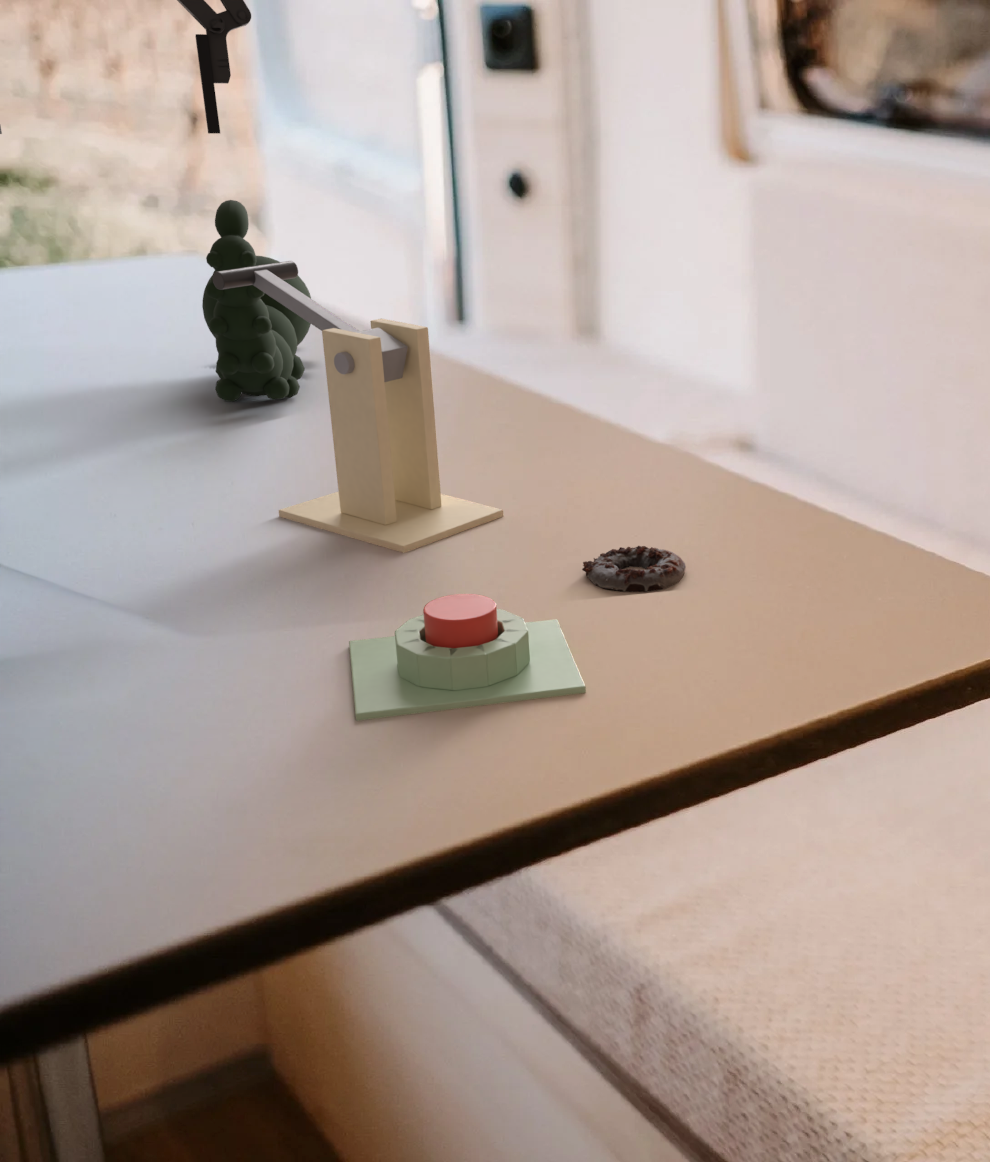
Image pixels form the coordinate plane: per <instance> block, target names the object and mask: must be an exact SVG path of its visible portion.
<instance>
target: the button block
mask: <svg viewBox="0 0 990 1162" xmlns="http://www.w3.org/2000/svg"><path fill="white" fill-rule="evenodd" d="M497 623H498V637H497V639H496V640H493V641H490V642H487V643H485V644H482V645H479V646H470V647H461V648H445V647H436V646H433V645H430V644H428V643H427V642H426V638H425V626H424V614H421V615H418V616H414V617H412V618H409V619H408V620H406V621H405V622H404V623H403V624H402V625H400V626H399V627H398V628H397V629H396V630H394V635H393V636H382V637H374V638H364V639H363V638H362V639H354V640H353V639H352V640H349V641H348V648H349V649H348V650H349V657H350V670H351V671H350V672H351V681H352V682H351V683H352V691H353V704H354V715H355V721H357V722H358V721H364V720H365V721H366V720H374V719H381V718H390V717H398V716H407V715H416V714H423V713H424V714H425V713H431V712H440V711H449V710H456V709H463V708H465V709H466V708H474V707H480V706H481V707H482V706H487V705H488V706H489V705H496V704H497V705H498V704H505V703H513V702H521V701H523V702H524V701H530V700H537V699H545V698H554V697H562V696H564V697H565V696H572V695H579V694H585V693H587V686H586V684H585V682H584V680H583V677H582V675H581V673H580V670H579V667H578V665H577V663H576V660H575V658H574V655H573V654H572V651H571V649H570V646H569V644H568V642H567V639H566V637H565V634H564V632H563V630H562V627H561V625H560V623H559V620H558V619H557V618H555V619H545V620H536V621H525V619H524V618H523V617H522V616H520V615H517V614H515V613H513V612H510V611H507V610H506V609H503V608H497Z"/></svg>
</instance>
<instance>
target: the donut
mask: <svg viewBox="0 0 990 1162" xmlns="http://www.w3.org/2000/svg"><path fill="white" fill-rule="evenodd" d="M628 568H629V569H628ZM636 568H641V569H636ZM581 570H582V572H585V576H586V577H587V579H589V581H590V582H592V584H593V585H594V586H596V587H598V588H601V589H603V590H613V591H616V592H623V593H636V592H637V593H648V592H655V591H660V590H665V589H668V588H670V587H672V586H674V585H676V584H678V583H679V582H680V581H682V579H683V578H684V576H685V571H686V563H685V561H684V560H683V559H682V558H681V557H680V556H679V555H678V554H676V553H675V552H673V551H671V550H667V549H661V548H660V549H659V548H657V547H652V546H650V547H648V546H645V545H637V546H635V547H631V546H627V547H619V548H618V549H616V548H612V549H611V550H608V551H607V552H606V553H605V552H602V553H600V554H599V556H597V558H595V557H593V561H592V560H589V561H583V562H582V569H581Z"/></svg>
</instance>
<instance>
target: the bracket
mask: <svg viewBox="0 0 990 1162" xmlns="http://www.w3.org/2000/svg"><path fill="white" fill-rule="evenodd" d="M369 323H370V329H374V328H380V329H382V330H383V331H385V332H386V333H388V334H389V335H391V336H393V337H394V338H396V339H397V340H399V341H400V342H402V343H403V344H405V345H406V346H408V349H407V354H406V360H405V366H404V371H403V377H402V378H400V379H396V380H392V381H388V382H384V371H383V360H382V349H381V338H380V337H377V336H372V335H367V334H362V333H356V332H351V331H346V330H341V329H336V328H331V329H326V330H322V331H321V336H322V346H323V355H324V365H325V375H326V383H327V385H326V386H327V393H328V403H329V413H330V422H331V432H332V443H333V451H334V461H335V471H336V480H337V491H335V492H332V493H329V494H325V495H322V496H319V497H316V498H313V499H310V500H306V501H303V502H300V503H297V504H293V505H290V506H286V507H283V508H280V509H278V516H279V518H283V519H285V520H289V521H293V522H296V523H300V524H303V525H307V526H310V527H313V528H317V529H320V530H324V531H326V532H327V531H328V532H330V533H333V534H334V533H335V534H338V535H341V536H344V537H348V538H350V539H354V540H358V541H362V542H364V543H368V544H371V545H375V546H379V547H381V548H385V549H388V550H393V551H396V552H399V553H402V554H403V553H404V554H405V553H408V552H410V551H413V550H416V549H418V548H422V547H424V546H427V545H430V544H432V543H435V542H437V541H440V540H443V539H446V538H449V537H451V536H454V535H456V534H460V533H462V532H464V531H467V530H470V529H472V528H475V527H478V526H481V525H484V524H486V523H489V522H492V521H494V520H497V519H499V518H503V517H504V510H503V509H501V508H498V507H494V506H491V505H486V504H482V503H479V502H475V501H471V500H467V499H463V498H459V497H456V496H451V495H447V494H444V493H442V492H441V480H440V478H441V477H440V465H439V453H438V441H437V440H438V439H437V428H436V427H437V426H436V412H435V402H434V388H433V375H432V363H431V349H430V336H429V335H430V334H429V327H428V326H424V325H419V324H415V323H414V324H413V323H409V322H403V321H397V320H392V319H387V318H377V319H372V320H371V319H370V322H369Z"/></svg>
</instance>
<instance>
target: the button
mask: <svg viewBox="0 0 990 1162" xmlns="http://www.w3.org/2000/svg"><path fill="white" fill-rule="evenodd" d="M497 609H498V608H497V603H496V602H495V600H494V599H492V598H491V597H489V596H486V595H482V594H477V593H476V594H475V593H456V594H455V593H453V594H448V595H444V596H440V597H437V598H434V599H432V600H430V601H429V602H427V603H426V604H425V605H424V606H423V611H422V613H423V614H422V615H424V626H425V638H426V642H427V643H428V644H430V645H433V646H436V647H445V648H461V647H470V646H479V645H482V644H485V643H487V642H490V641H493V640H496V639H497V637H498V623H497Z"/></svg>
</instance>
